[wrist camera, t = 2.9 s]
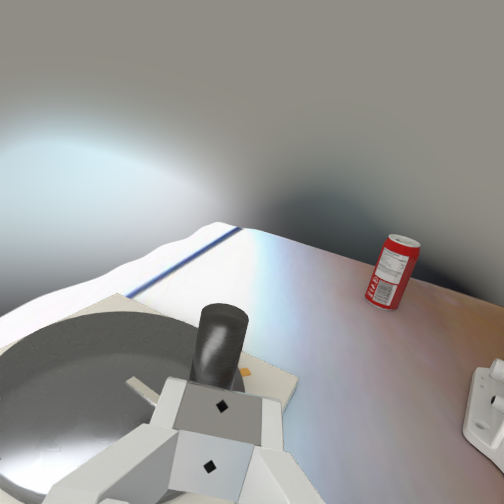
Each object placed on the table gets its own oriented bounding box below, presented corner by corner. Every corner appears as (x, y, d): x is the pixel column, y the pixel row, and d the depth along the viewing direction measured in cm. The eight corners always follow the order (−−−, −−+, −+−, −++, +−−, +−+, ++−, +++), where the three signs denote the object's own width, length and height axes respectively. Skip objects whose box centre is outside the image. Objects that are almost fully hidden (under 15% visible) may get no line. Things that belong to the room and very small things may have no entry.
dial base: (116, 303, 45) (117, 291, 45) (295, 389, 38) (299, 376, 37) (-149, 437, 24) (-153, 418, 24) (138, 694, 17) (141, 675, 16)
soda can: (391, 299, 65) (416, 237, 61) (400, 315, 60) (428, 247, 55) (361, 292, 65) (383, 229, 61) (367, 307, 60) (392, 239, 56)
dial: (-81, 390, 26) (-103, 244, 22) (136, 303, 43) (146, 210, 39) (93, 606, 18) (110, 430, 14) (282, 392, 34) (315, 284, 30)
